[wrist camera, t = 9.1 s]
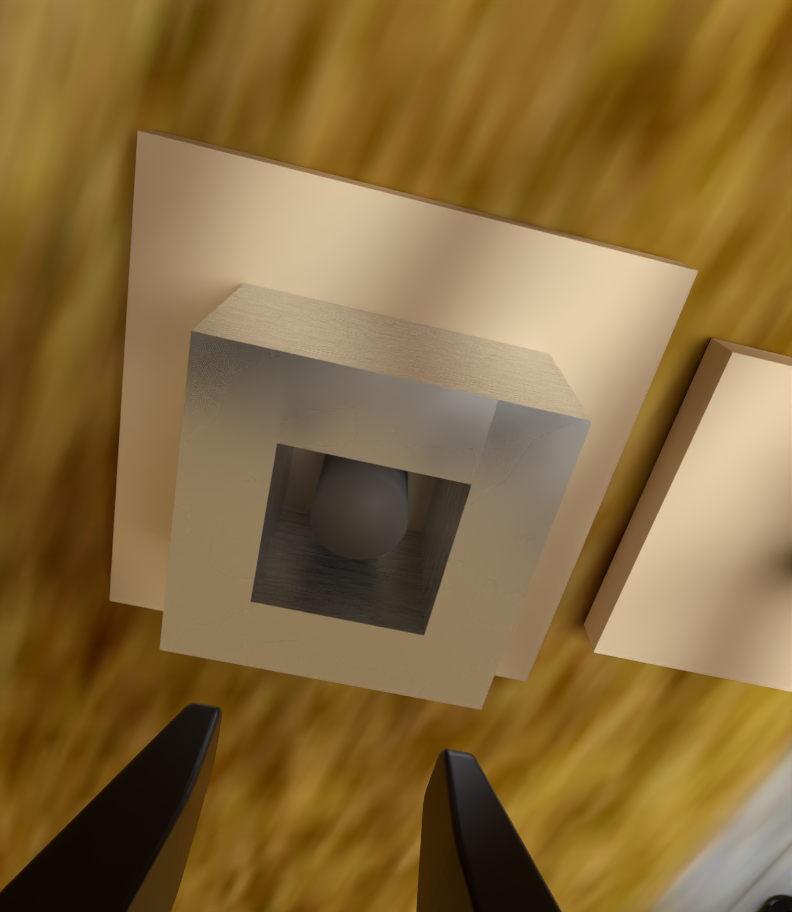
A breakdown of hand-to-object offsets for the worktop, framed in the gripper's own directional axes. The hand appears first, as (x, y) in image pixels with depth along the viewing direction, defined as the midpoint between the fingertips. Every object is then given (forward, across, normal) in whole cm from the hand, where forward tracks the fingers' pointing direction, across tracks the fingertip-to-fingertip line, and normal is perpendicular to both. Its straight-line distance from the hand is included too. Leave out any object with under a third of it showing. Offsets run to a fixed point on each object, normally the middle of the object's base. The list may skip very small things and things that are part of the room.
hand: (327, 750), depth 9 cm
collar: (+9, 0, 0) cm, 9 cm away
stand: (+10, -12, 0) cm, 16 cm away
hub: (+10, 0, 0) cm, 10 cm away
